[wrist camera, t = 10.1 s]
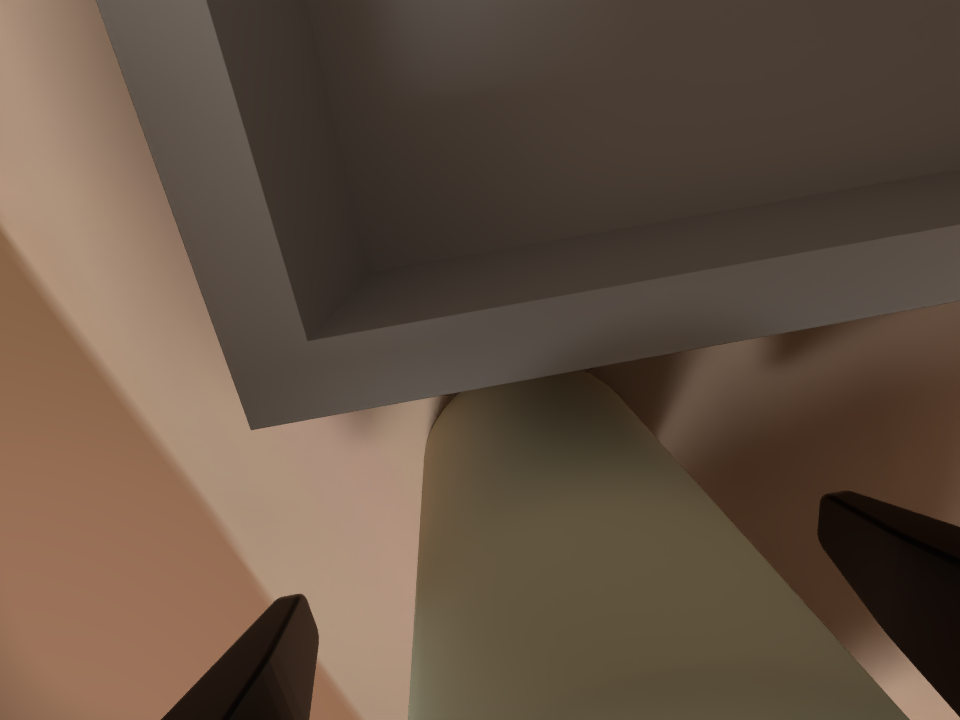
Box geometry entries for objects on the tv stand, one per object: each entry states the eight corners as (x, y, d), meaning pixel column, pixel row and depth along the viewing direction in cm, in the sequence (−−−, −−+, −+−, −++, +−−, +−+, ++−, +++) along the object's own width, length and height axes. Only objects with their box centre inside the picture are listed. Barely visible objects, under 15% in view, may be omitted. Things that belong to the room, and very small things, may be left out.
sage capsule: (643, 532, 12) (898, 948, 5) (446, 569, 12) (454, 1042, 5) (632, 343, 10) (978, 605, 4) (402, 385, 10) (332, 733, 4)
